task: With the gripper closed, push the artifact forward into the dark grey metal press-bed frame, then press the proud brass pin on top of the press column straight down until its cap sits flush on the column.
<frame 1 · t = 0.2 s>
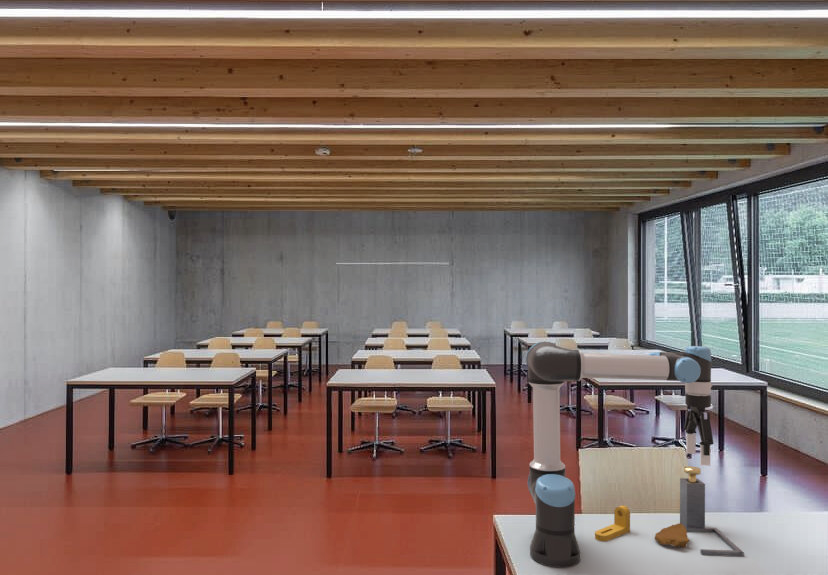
hand: (697, 459, 190), 27 cm above the table, fingers open, 13 cm apart
press: (708, 542, 190), on the table
artifact: (671, 543, 190), on the table
bracket: (611, 535, 196), on the table
pin: (692, 480, 203), point 16 cm above the table, slide at 0.0 cm
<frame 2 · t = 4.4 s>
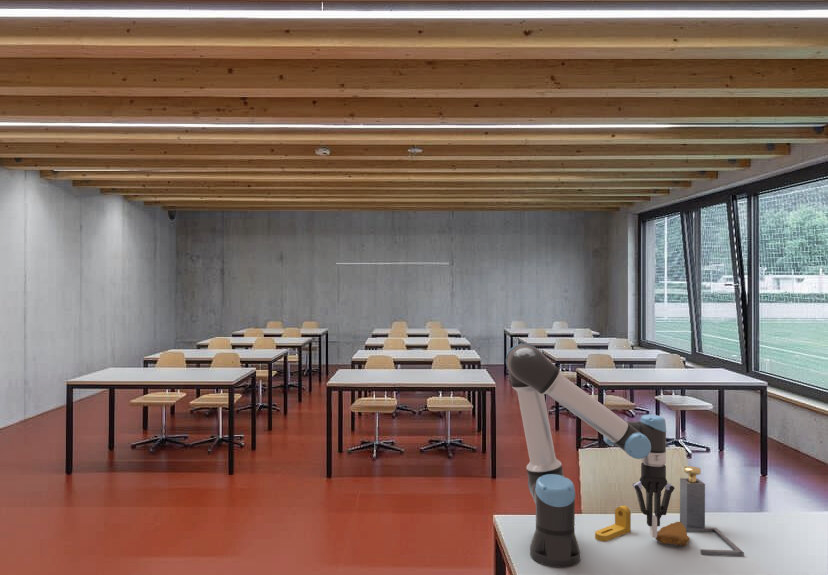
hand: (653, 535, 190), 2 cm above the table, fingers closed
artifact: (671, 542, 190), on the table, touching gripper
everything else where it was.
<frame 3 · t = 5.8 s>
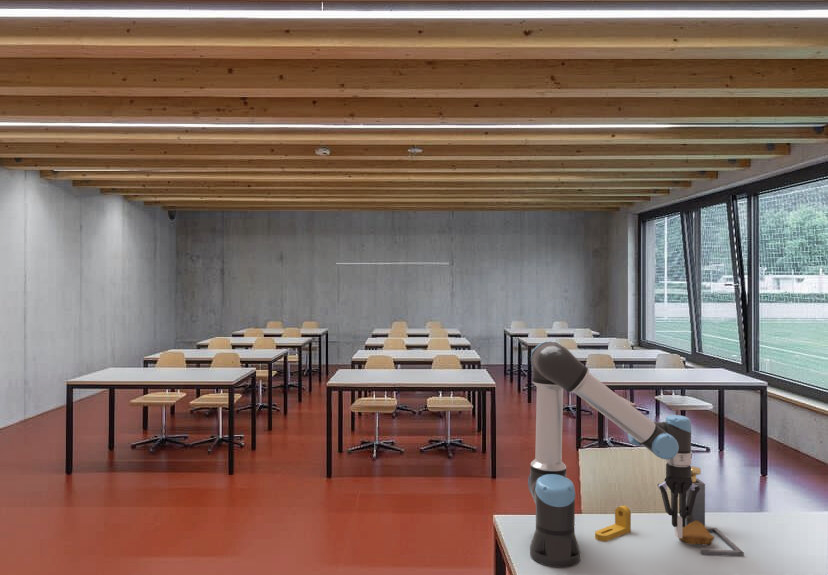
hand: (678, 536, 189), 2 cm above the table, fingers closed
artifact: (694, 542, 191), on the table, touching gripper
everything else where it was.
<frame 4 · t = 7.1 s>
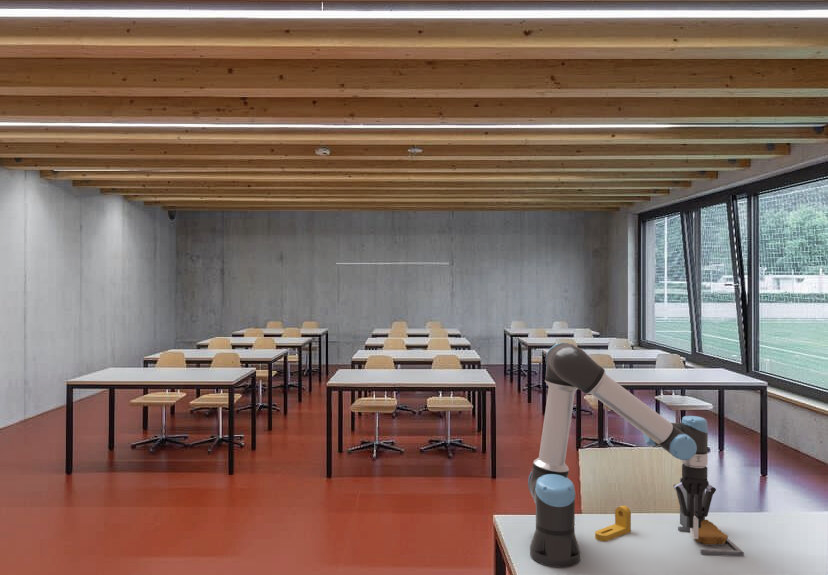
hand: (694, 537, 189), 2 cm above the table, fingers closed
artifact: (708, 541, 191), on the table, touching gripper, press
everything else where it was.
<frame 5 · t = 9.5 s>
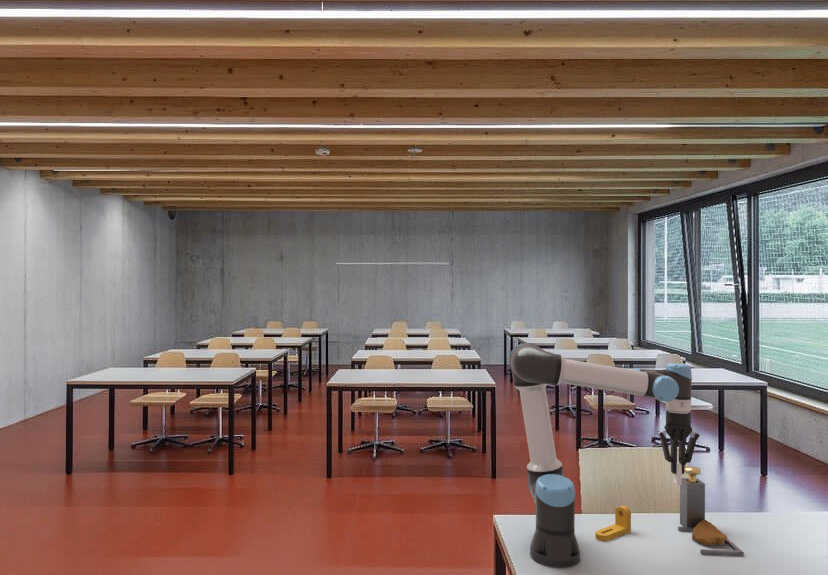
hand: (677, 483, 190), 19 cm above the table, fingers closed
artifact: (707, 542, 191), on the table
everything else where it was.
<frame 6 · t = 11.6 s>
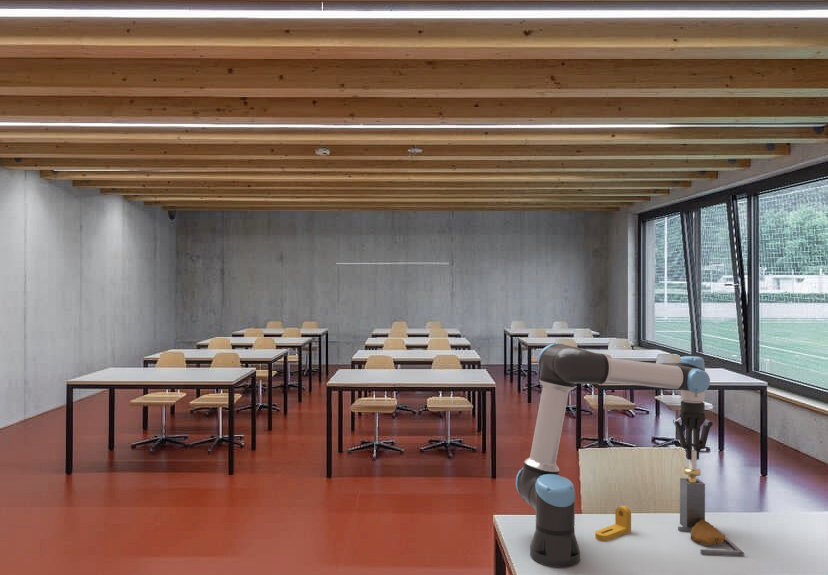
hand: (692, 468, 203), 20 cm above the table, fingers closed
pin: (692, 481, 203), point 16 cm above the table, slide at -0.4 cm, touching gripper
everything else where it was.
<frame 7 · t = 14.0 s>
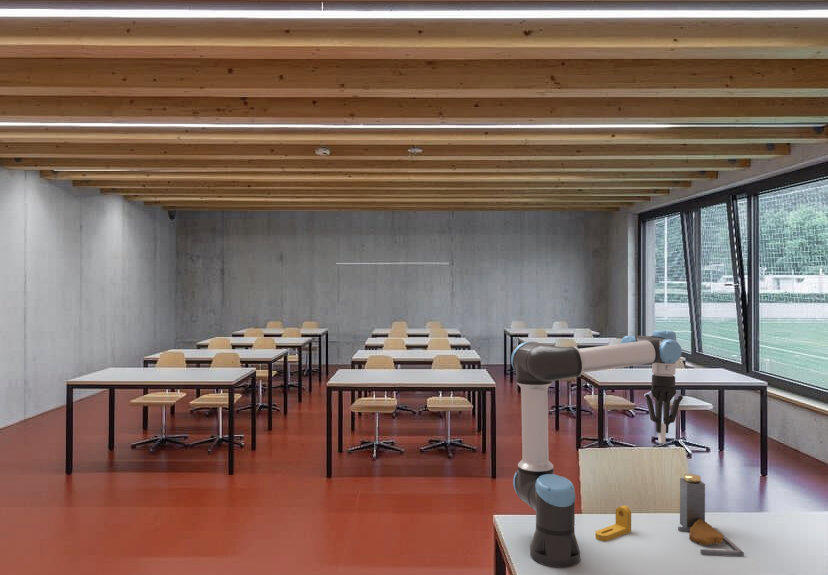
hand: (661, 442, 203), 29 cm above the table, fingers closed
pin: (692, 488, 202), point 14 cm above the table, slide at -2.7 cm
everything else where it was.
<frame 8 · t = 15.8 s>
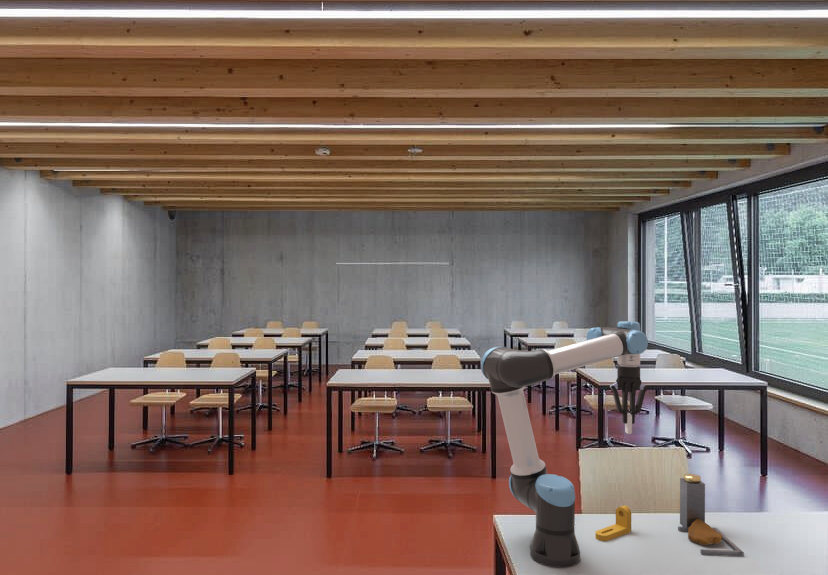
hand: (628, 432, 203), 32 cm above the table, fingers closed
at the end: artifact inside the target area (2.5 cm from its centre), on the table; artifact moved 11.4 cm from its start; pin slide at -2.7 cm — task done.
